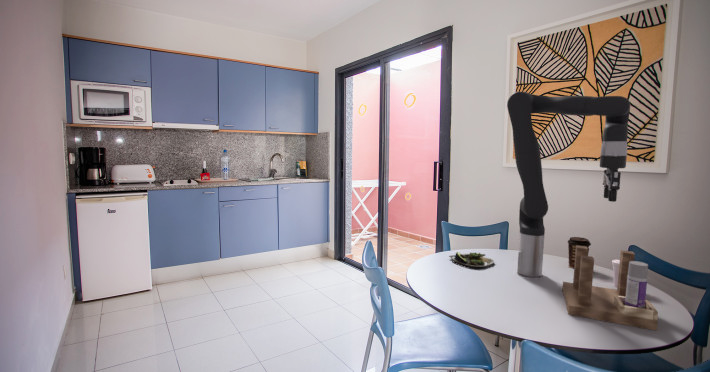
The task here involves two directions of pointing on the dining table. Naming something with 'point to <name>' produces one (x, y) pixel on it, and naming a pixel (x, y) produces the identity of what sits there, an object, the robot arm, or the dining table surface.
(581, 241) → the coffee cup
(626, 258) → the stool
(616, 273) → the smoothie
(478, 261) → the salad plate
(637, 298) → the container
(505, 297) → the dining table surface
